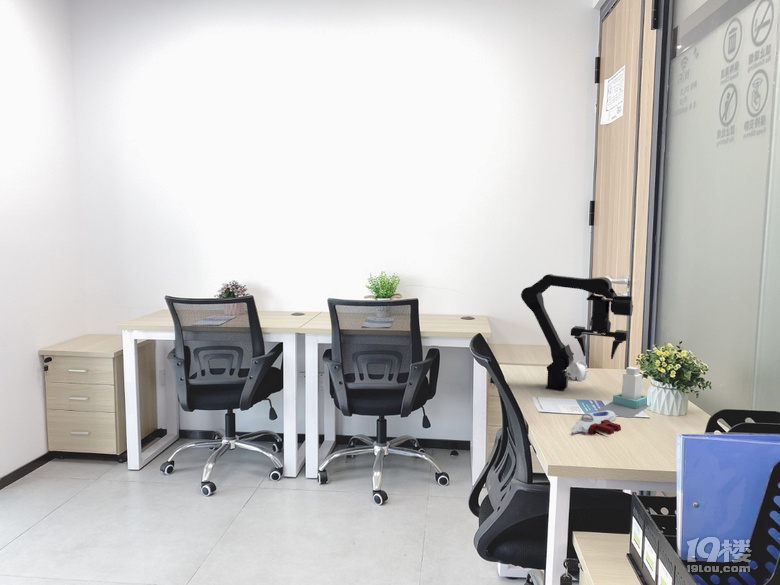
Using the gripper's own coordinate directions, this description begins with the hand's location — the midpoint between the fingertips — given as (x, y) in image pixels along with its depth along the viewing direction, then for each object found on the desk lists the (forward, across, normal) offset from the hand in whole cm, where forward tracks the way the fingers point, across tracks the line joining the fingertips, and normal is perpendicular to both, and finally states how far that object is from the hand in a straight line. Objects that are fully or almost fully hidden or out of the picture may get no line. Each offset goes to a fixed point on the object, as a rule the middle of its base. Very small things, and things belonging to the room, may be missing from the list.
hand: (598, 357), depth 220 cm
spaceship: (+14, -7, +37) cm, 40 cm away
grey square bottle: (+12, -13, +10) cm, 20 cm away
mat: (+13, -12, +15) cm, 23 cm away
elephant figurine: (+13, +11, -17) cm, 24 cm away
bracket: (+14, -11, +41) cm, 45 cm away
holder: (+12, -13, +10) cm, 20 cm away
